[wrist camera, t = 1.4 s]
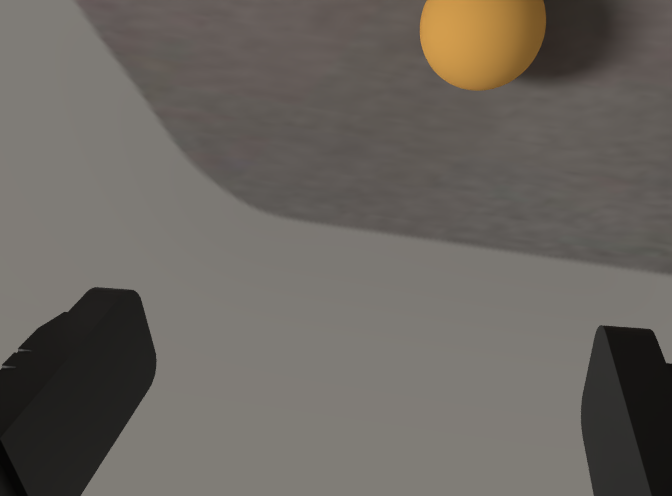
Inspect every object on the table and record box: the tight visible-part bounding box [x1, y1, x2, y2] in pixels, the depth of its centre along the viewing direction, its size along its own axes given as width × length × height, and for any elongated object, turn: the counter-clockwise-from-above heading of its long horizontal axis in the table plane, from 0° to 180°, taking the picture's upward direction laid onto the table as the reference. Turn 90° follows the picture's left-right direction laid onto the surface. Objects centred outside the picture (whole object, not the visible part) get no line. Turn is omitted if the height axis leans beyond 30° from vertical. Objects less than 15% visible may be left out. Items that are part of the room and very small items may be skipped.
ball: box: [420, 0, 546, 91], centre depth 25 cm, size 5×5×5 cm
